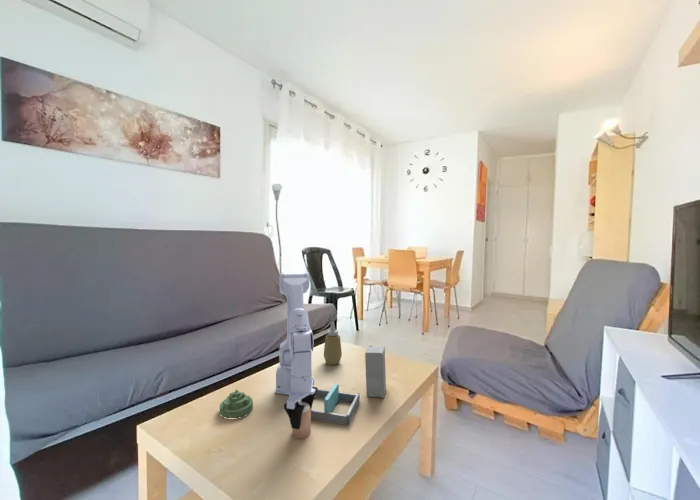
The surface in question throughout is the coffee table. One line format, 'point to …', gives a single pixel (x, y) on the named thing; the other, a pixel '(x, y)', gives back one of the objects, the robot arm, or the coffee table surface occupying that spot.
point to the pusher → (331, 398)
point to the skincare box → (375, 371)
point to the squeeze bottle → (332, 346)
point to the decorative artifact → (236, 405)
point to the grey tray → (334, 416)
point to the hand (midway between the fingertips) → (301, 420)
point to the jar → (304, 423)
